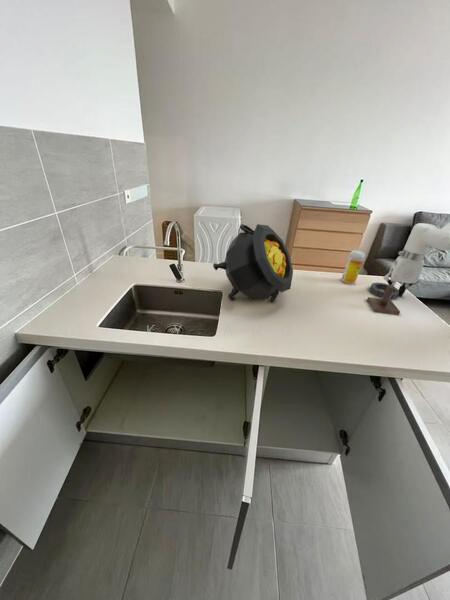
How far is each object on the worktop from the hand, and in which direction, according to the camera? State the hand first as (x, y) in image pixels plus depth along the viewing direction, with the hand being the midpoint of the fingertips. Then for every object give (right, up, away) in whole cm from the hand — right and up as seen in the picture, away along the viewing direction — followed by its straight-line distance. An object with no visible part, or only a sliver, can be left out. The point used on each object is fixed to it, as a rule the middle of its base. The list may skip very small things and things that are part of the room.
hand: (394, 293), depth 108 cm
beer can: (-16, +6, +9) cm, 19 cm away
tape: (-5, 0, +1) cm, 5 cm away
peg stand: (-12, -6, -10) cm, 16 cm away
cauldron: (-64, -1, -7) cm, 65 cm away
